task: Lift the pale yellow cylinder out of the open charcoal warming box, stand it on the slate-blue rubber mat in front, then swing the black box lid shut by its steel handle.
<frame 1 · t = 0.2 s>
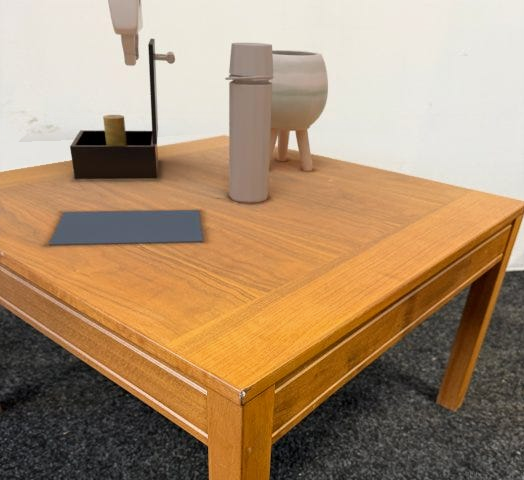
hand: (132, 62, 96), 21 cm above the table, tool pointing down, fingers open, 8 cm apart
planter: (283, 169, 120), on the table
water bottle: (245, 199, 101), on the table
yellow cylinder: (119, 168, 112), point 1 cm above the table, touching warming box
warming box: (119, 172, 113), on the table
mat: (130, 229, 86), on the table
black box lid: (163, 91, 106), point 15 cm above the table, hinge at 91.6°
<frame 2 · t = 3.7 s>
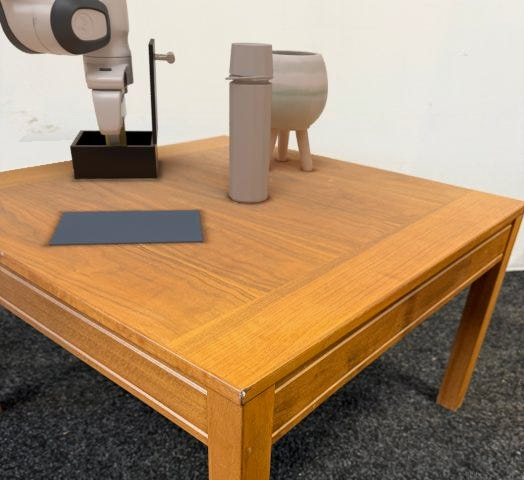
hand: (117, 149, 110), 5 cm above the table, tool pointing down, fingers closed on yellow cylinder, 4 cm apart
yellow cylinder: (119, 168, 112), point 1 cm above the table, touching gripper, warming box
everything else where it was.
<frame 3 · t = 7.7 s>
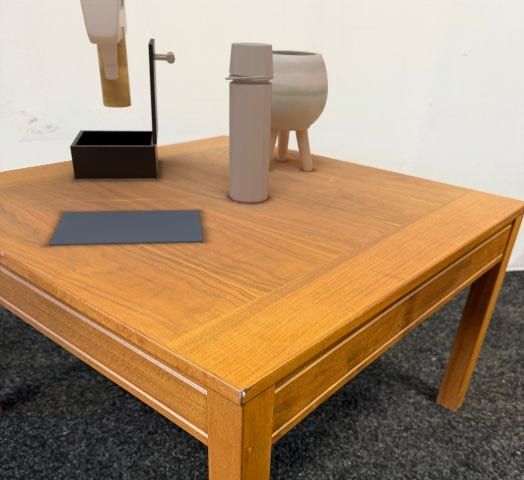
hand: (114, 76, 78), 21 cm above the table, tool pointing down, fingers closed on yellow cylinder, 4 cm apart
yellow cylinder: (117, 105, 80), point 17 cm above the table, touching gripper
everything else where it was.
when the fingers open (4 cm above the table, at t = 12.1 s): yellow cylinder stays where it is, resting on mat.
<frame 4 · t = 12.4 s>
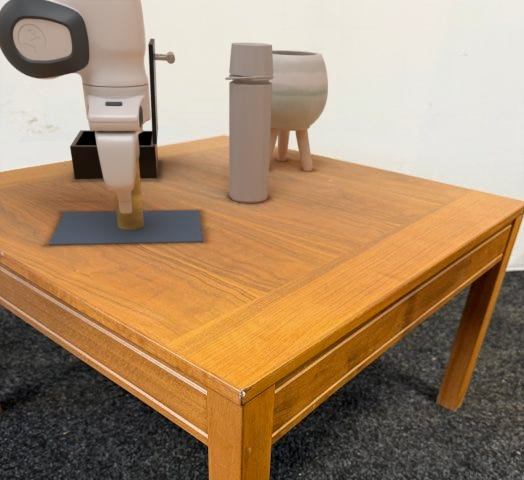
hand: (128, 203, 84), 4 cm above the table, tool pointing down, fingers open, 6 cm apart
yellow cylinder: (131, 225, 86), point 1 cm above the table, touching mat
everything else where it was.
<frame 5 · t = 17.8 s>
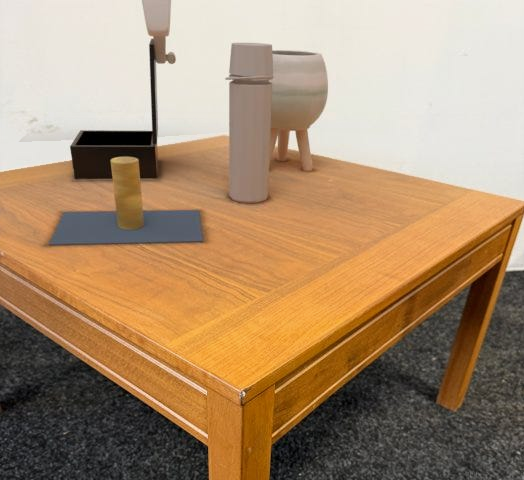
hand: (161, 61, 103), 21 cm above the table, tool pointing down, fingers closed on black box lid, 5 cm apart
black box lid: (164, 91, 106), point 15 cm above the table, hinge at 92.1°, touching gripper
everything else where it was.
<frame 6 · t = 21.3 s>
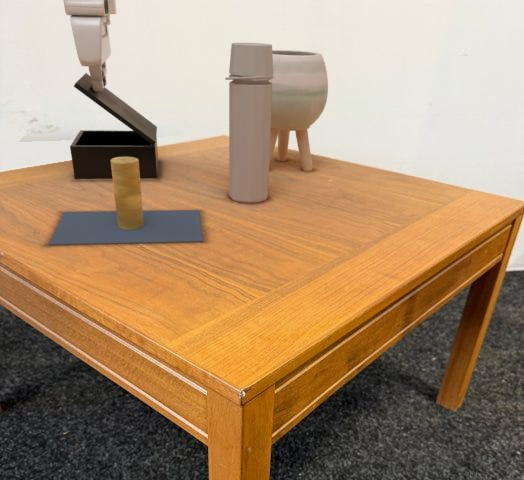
hand: (100, 88, 104), 16 cm above the table, tool pointing down, fingers closed on black box lid, 5 cm apart
black box lid: (124, 100, 106), point 14 cm above the table, hinge at 37.2°, touching gripper
everything else where it was.
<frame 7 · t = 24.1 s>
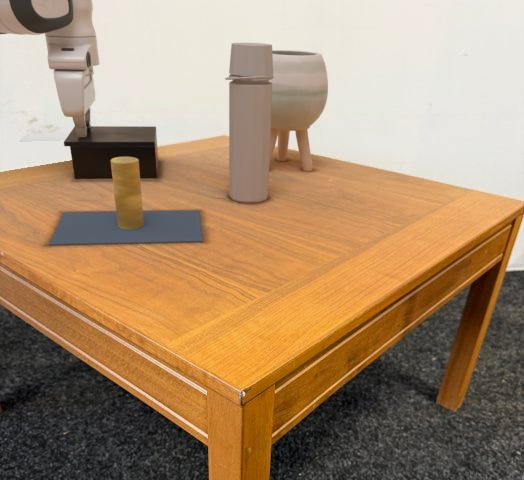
hand: (84, 133, 108), 8 cm above the table, tool pointing down, fingers closed on black box lid, 5 cm apart
black box lid: (111, 125, 108), point 9 cm above the table, hinge at -0.2°, touching gripper, warming box
everything else where it was.
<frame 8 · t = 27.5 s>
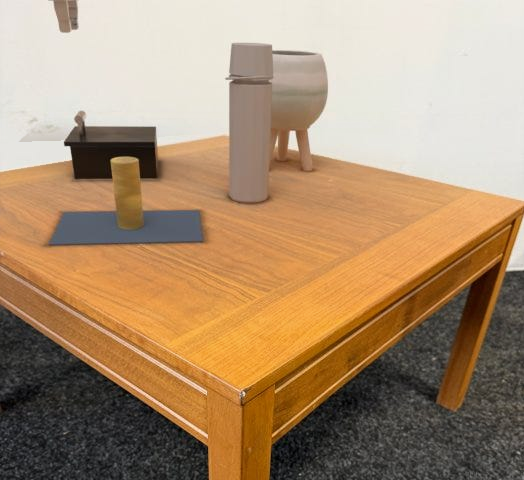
hand: (70, 31, 99), 25 cm above the table, tool pointing down, fingers open, 8 cm apart
black box lid: (111, 125, 108), point 9 cm above the table, hinge at -0.2°, touching warming box
everything else where it was.
at the end: yellow cylinder inside the target area on the mat (0.1 cm from its centre), point 0.6 cm above the mat's base; yellow cylinder tilted 0°; black box lid at +0° (first picture: +92°) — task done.
